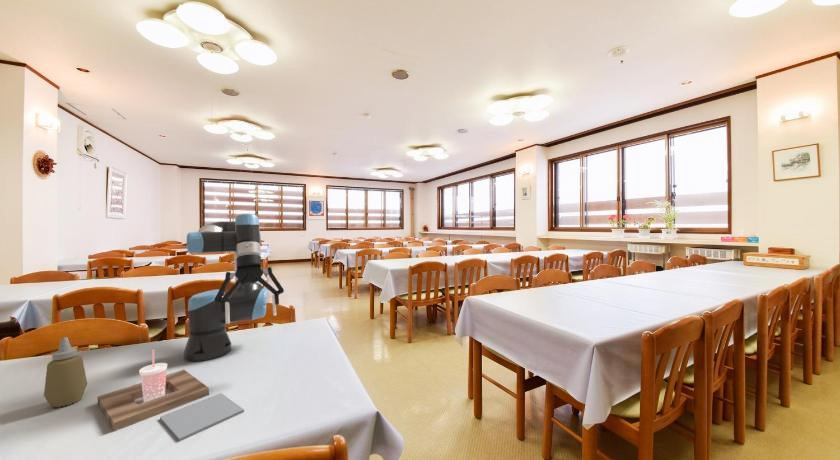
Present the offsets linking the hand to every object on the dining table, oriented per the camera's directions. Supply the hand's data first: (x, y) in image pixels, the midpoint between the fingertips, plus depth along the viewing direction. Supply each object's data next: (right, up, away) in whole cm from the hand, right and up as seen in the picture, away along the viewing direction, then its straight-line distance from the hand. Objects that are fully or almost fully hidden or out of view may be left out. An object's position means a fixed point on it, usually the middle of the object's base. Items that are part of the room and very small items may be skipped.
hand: (251, 319), depth 104 cm
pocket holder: (-20, -19, -14) cm, 31 cm away
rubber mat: (-1, -18, -22) cm, 29 cm away
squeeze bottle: (-44, -19, -15) cm, 50 cm away
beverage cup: (-20, -19, -14) cm, 31 cm away
